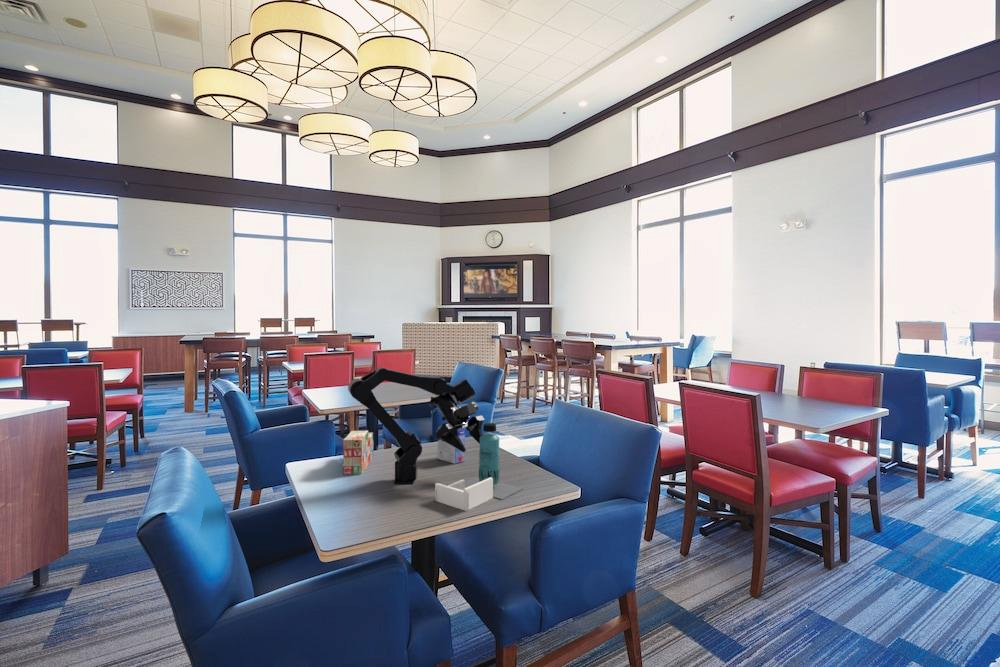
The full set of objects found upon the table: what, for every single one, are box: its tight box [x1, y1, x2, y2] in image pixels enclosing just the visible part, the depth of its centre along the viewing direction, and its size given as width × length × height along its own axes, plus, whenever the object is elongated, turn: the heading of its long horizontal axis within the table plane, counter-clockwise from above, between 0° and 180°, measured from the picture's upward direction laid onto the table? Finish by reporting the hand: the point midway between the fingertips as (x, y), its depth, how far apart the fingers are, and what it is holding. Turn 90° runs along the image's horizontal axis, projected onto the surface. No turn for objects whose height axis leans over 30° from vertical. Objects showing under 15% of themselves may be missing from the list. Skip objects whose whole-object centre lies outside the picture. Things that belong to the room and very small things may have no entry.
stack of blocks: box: [342, 430, 374, 476], centre depth 170 cm, size 21×6×12 cm, turn 5°
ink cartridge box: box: [437, 426, 466, 465], centre depth 176 cm, size 10×6×14 cm, turn 49°
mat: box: [465, 475, 524, 501], centre depth 148 cm, size 18×11×1 cm, turn 53°
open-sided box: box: [434, 477, 494, 512], centre depth 138 cm, size 12×12×6 cm
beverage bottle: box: [478, 422, 500, 485], centre depth 148 cm, size 6×7×20 cm
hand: (474, 448), depth 151 cm, fingers open, 9 cm apart
